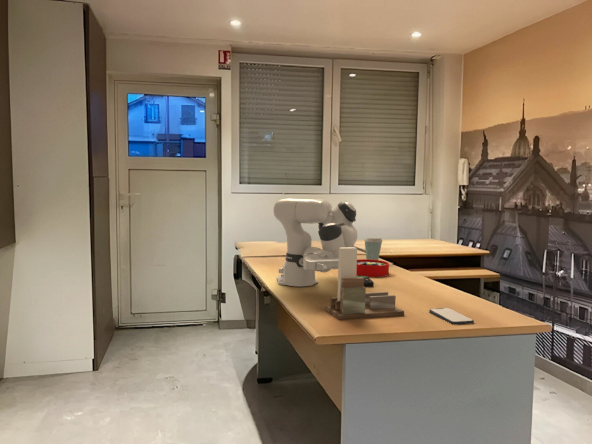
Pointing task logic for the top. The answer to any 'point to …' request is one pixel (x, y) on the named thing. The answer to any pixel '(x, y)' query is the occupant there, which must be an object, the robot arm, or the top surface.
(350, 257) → the cream rectangular board
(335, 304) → the rack
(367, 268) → the toy clock
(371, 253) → the disposable coffee cup
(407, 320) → the top surface
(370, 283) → the disk drive
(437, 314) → the smartphone
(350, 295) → the block
